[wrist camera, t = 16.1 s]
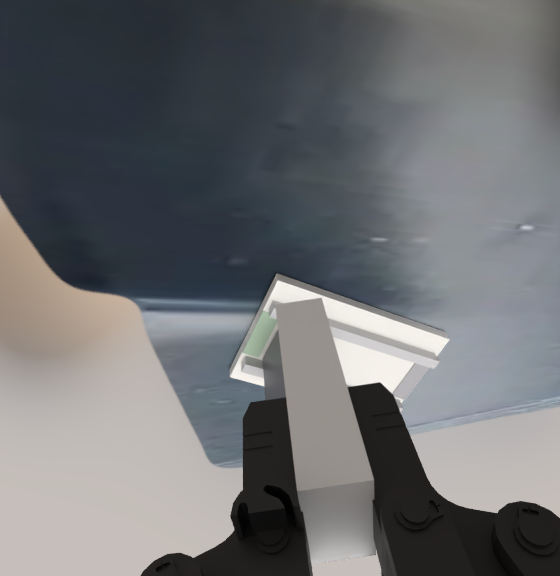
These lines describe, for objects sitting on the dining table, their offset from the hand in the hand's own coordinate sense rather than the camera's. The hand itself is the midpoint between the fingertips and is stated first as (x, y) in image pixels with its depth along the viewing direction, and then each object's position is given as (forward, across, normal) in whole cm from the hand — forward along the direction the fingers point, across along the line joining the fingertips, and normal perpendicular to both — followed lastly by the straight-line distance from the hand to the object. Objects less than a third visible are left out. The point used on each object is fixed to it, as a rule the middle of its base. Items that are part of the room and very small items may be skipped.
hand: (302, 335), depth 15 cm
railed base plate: (+29, +5, -26) cm, 39 cm away
